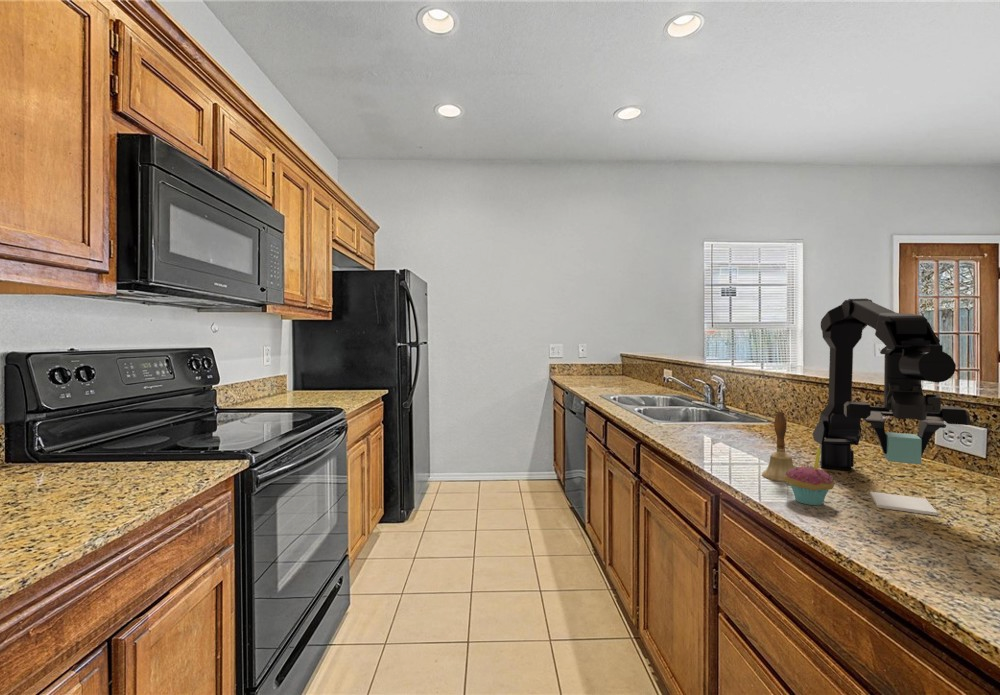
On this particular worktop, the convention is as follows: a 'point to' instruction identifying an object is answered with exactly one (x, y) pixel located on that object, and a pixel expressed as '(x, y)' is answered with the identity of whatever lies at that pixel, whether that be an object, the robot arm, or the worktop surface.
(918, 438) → the cube
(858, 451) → the worktop surface
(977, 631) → the worktop surface
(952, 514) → the worktop surface
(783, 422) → the hand bell
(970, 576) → the worktop surface
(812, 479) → the cupcake
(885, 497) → the tile
